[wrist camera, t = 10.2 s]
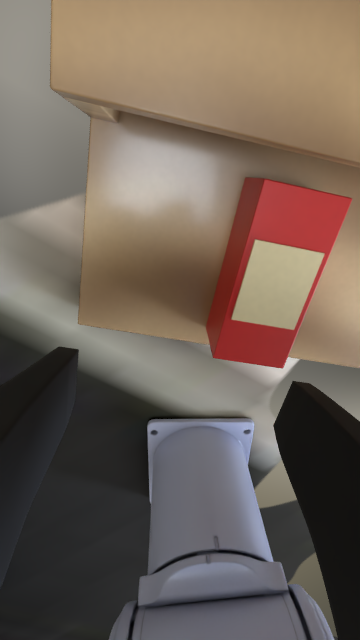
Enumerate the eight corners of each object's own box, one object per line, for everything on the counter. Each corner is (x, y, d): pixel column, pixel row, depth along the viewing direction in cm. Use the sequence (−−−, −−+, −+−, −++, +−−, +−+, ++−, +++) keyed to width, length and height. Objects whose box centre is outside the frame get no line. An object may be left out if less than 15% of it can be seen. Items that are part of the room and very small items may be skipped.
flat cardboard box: (351, 353, 21) (429, 430, 15) (86, 310, 19) (45, 378, 13) (527, 10, 14) (840, -130, 7) (117, -124, 11) (56, -485, 5)
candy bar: (264, 337, 18) (283, 370, 15) (205, 327, 18) (213, 359, 15) (317, 193, 15) (354, 198, 12) (245, 176, 14) (265, 178, 11)
